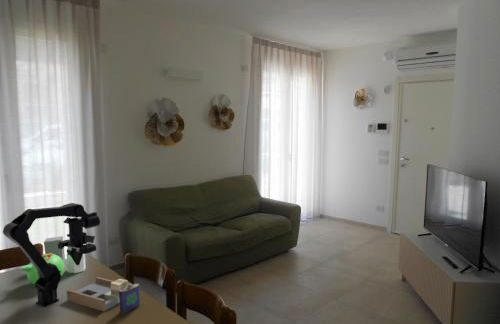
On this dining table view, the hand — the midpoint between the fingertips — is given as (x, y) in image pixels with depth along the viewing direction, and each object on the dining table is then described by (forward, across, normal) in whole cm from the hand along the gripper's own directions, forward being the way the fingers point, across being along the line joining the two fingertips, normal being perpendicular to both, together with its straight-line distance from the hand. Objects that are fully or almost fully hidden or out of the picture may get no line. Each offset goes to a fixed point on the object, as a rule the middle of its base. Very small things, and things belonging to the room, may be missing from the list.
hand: (77, 264), depth 168 cm
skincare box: (+12, +36, -14) cm, 41 cm away
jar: (+12, +22, -16) cm, 30 cm away
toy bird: (+12, +21, +2) cm, 24 cm away
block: (+10, -23, -2) cm, 25 cm away
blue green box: (+12, -34, +2) cm, 36 cm away
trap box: (+12, -15, +1) cm, 19 cm away
